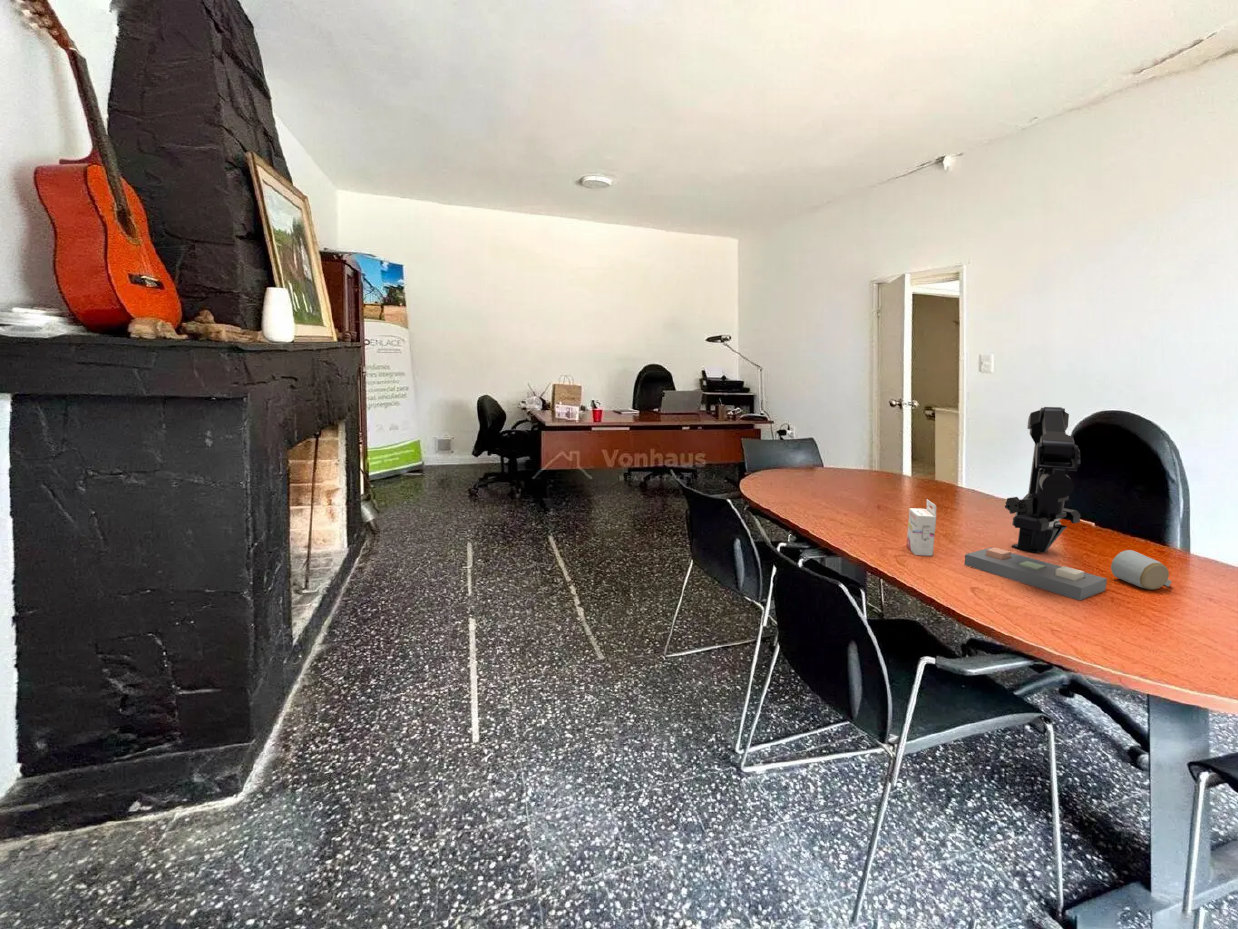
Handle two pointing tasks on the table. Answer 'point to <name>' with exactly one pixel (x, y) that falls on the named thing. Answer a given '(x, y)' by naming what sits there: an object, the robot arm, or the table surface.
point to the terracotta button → (998, 553)
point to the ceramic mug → (1140, 570)
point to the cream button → (1069, 573)
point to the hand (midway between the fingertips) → (1042, 552)
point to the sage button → (1032, 565)
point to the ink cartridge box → (922, 530)
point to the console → (1037, 575)
